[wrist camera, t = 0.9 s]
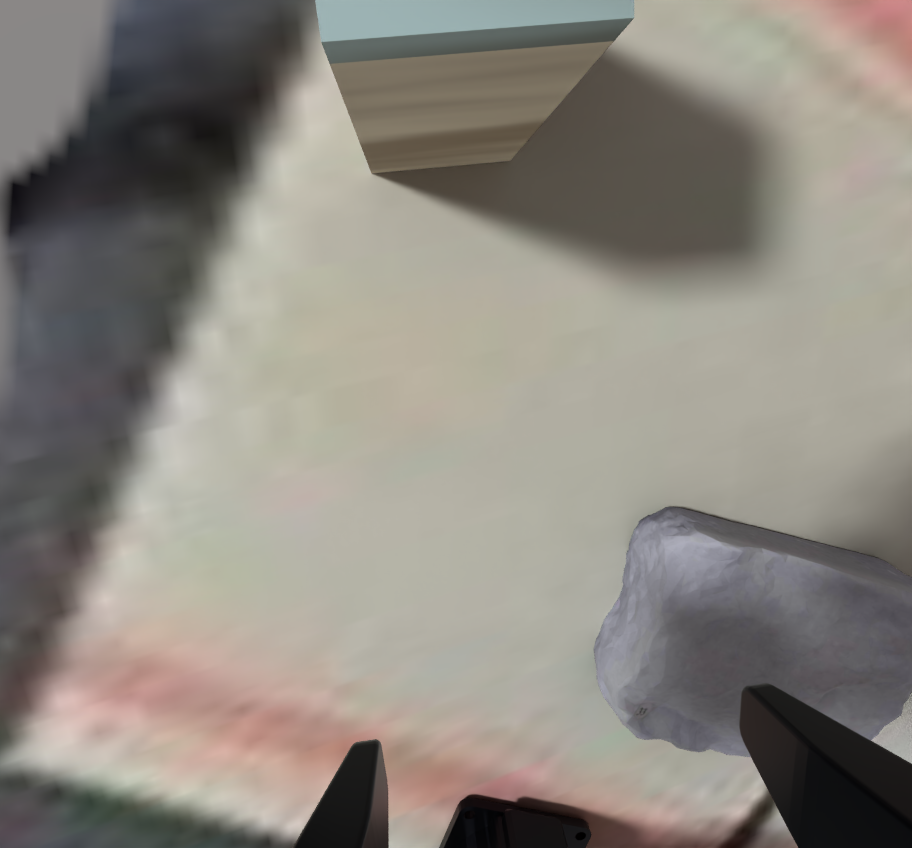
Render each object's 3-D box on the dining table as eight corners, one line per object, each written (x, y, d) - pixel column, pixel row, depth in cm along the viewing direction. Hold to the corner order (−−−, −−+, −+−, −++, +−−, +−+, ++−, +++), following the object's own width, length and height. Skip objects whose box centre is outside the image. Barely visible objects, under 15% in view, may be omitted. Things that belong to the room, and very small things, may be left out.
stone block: (778, 694, 27) (903, 542, 22) (839, 797, 22) (1009, 632, 18) (555, 647, 25) (644, 475, 21) (575, 747, 21) (691, 555, 17)
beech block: (510, 160, 17) (634, 17, 8) (371, 173, 17) (321, 41, 7) (499, -3, 16) (632, -415, 6) (350, 9, 16) (256, -402, 6)
